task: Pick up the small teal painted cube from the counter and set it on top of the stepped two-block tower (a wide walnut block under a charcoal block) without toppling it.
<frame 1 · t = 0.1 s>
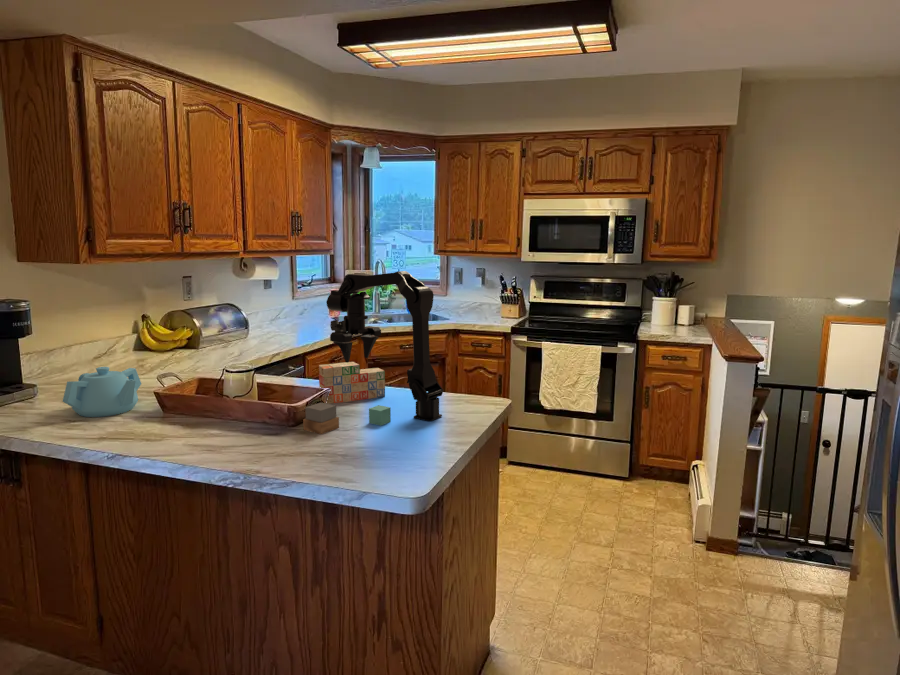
hand: (356, 360, 190), 15 cm above the countertop, tool pointing down, fingers open, 9 cm apart
teal block: (379, 422, 173), on the countertop
walnut base block: (321, 430, 166), on the countertop
stack of blocks: (352, 399, 199), on the countertop
teapot: (107, 411, 182), on the countertop
charcoal block: (321, 418, 166), point 3 cm above the countertop
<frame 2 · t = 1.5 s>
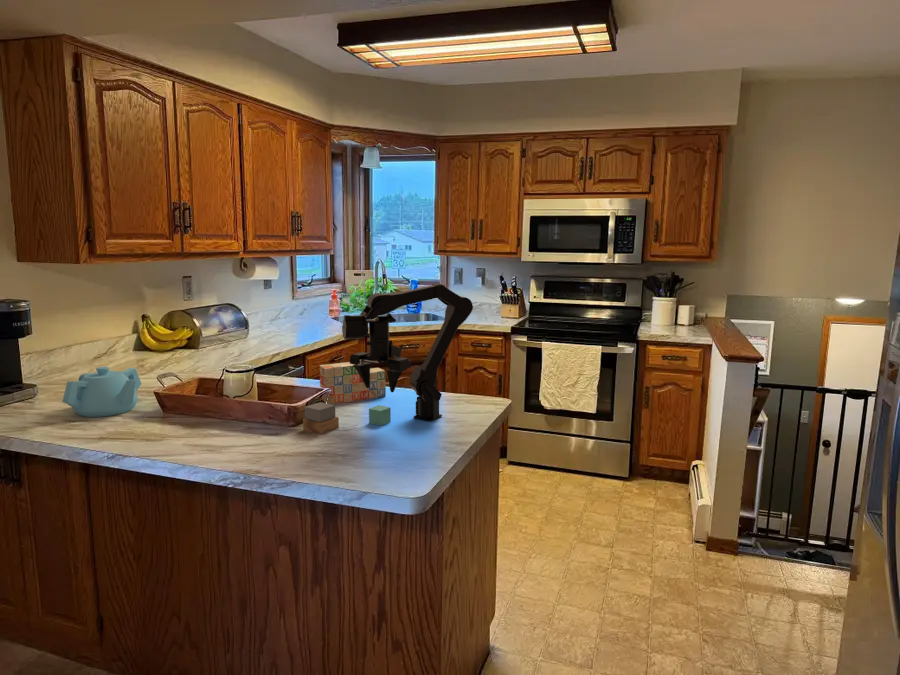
hand: (379, 389, 171), 10 cm above the countertop, tool pointing down, fingers open, 9 cm apart
walnut base block: (321, 430, 166), on the countertop, touching charcoal block
charcoal block: (320, 418, 166), point 3 cm above the countertop, touching walnut base block
everything else where it was.
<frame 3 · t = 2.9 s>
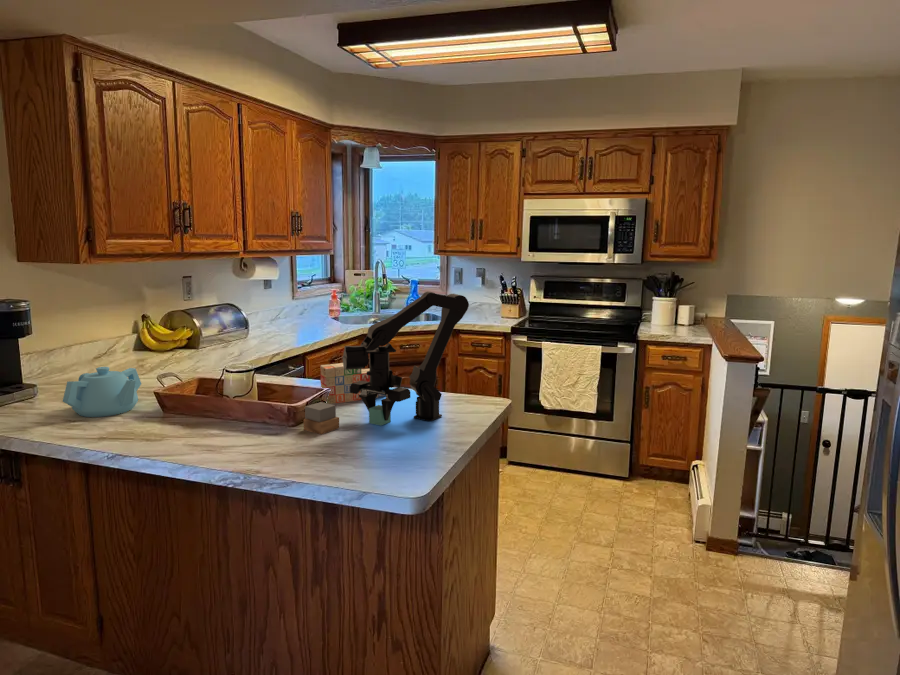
hand: (379, 419, 173), 1 cm above the countertop, tool pointing down, fingers closed on teal block, 4 cm apart
teal block: (379, 422, 173), on the countertop, touching gripper
everything else where it was.
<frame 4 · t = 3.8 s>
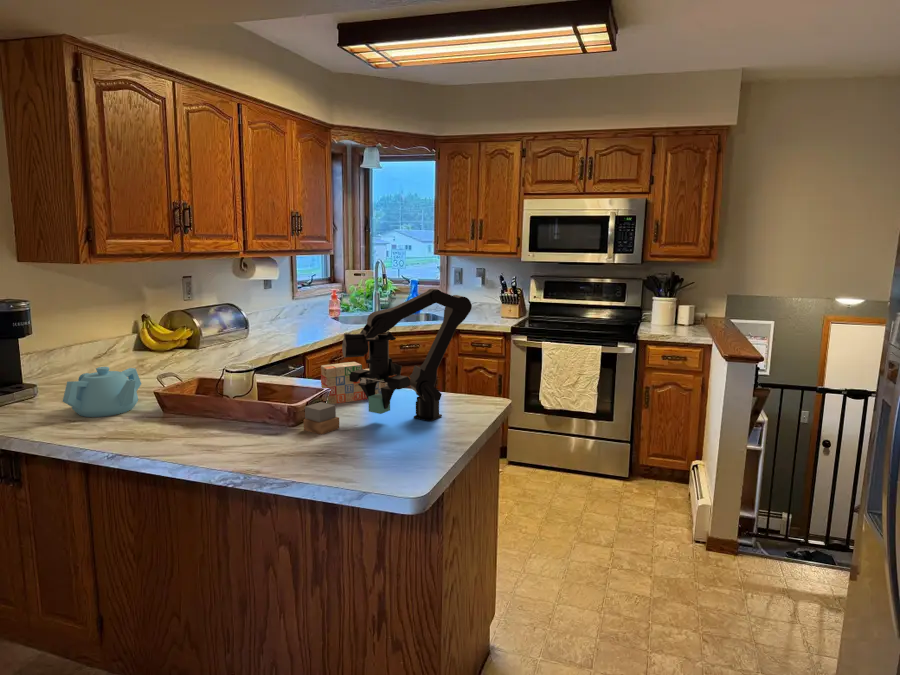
hand: (379, 407, 172), 5 cm above the countertop, tool pointing down, fingers closed on teal block, 4 cm apart
teal block: (379, 410, 172), point 3 cm above the countertop, touching gripper
everything else where it was.
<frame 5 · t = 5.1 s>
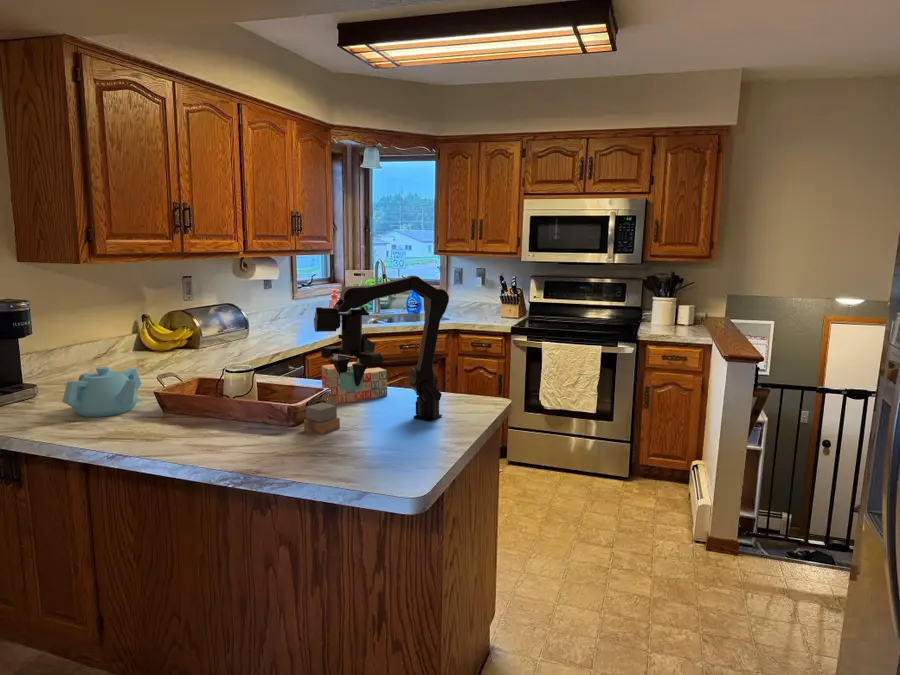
hand: (351, 384, 168), 12 cm above the countertop, tool pointing down, fingers closed on teal block, 4 cm apart
teal block: (351, 388, 168), point 11 cm above the countertop, touching gripper
everything else where it was.
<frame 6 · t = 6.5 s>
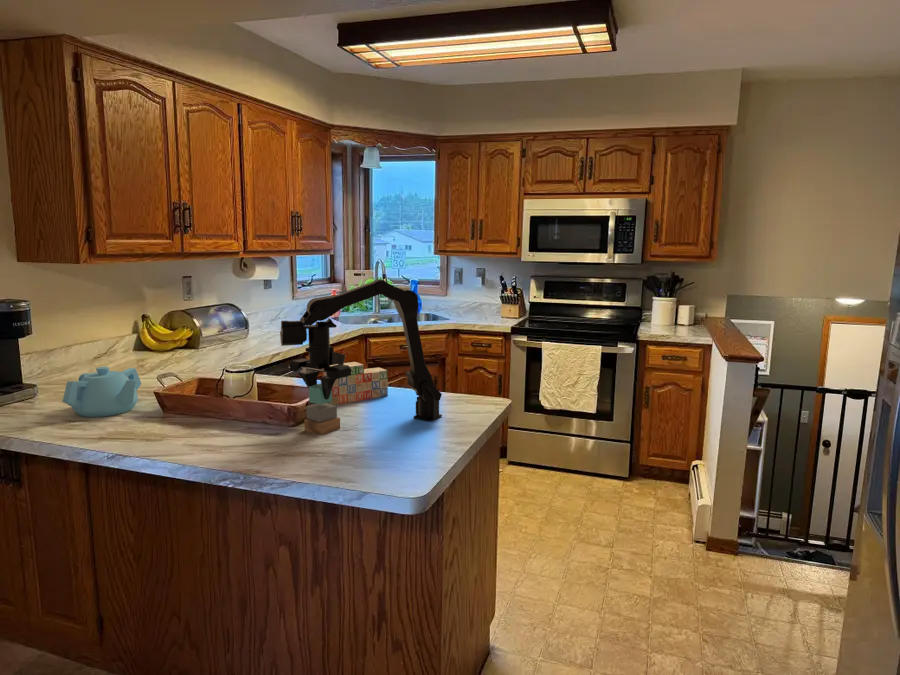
hand: (320, 398, 165), 9 cm above the countertop, tool pointing down, fingers closed on teal block, 4 cm apart
teal block: (320, 401, 165), point 8 cm above the countertop, touching gripper
walnut base block: (322, 430, 166), on the countertop
charcoal block: (321, 418, 166), point 3 cm above the countertop
when the fingers open (9 cm above the countertop, at t = 6.7 s): teal block drops 1 cm, point 7 cm above the countertop.
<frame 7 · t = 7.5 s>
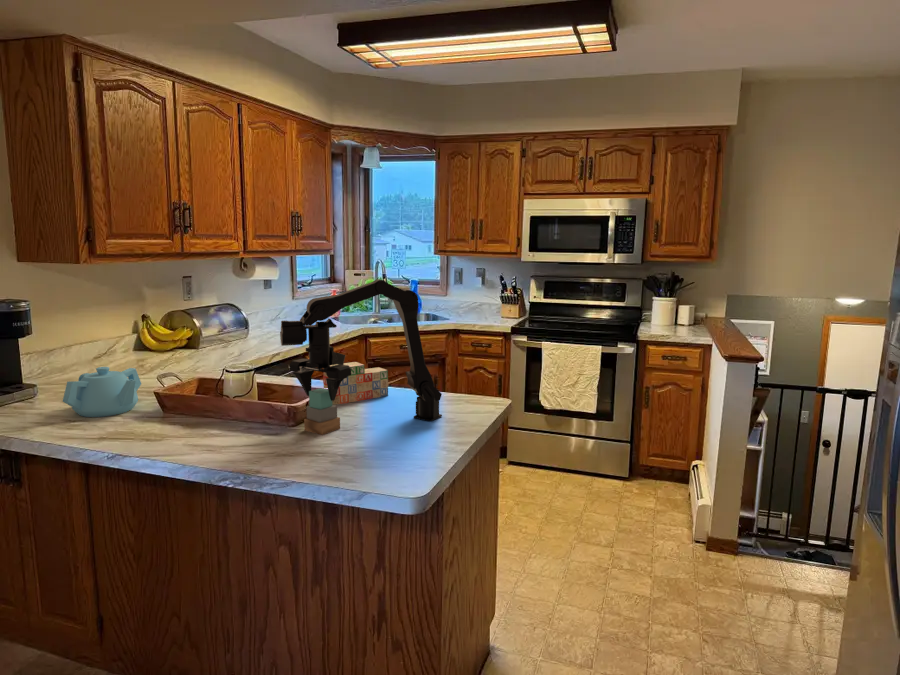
hand: (320, 398, 165), 9 cm above the countertop, tool pointing down, fingers open, 9 cm apart
teal block: (320, 406, 165), point 7 cm above the countertop
walnut base block: (322, 430, 166), on the countertop, touching charcoal block
charcoal block: (322, 418, 165), point 3 cm above the countertop, touching walnut base block
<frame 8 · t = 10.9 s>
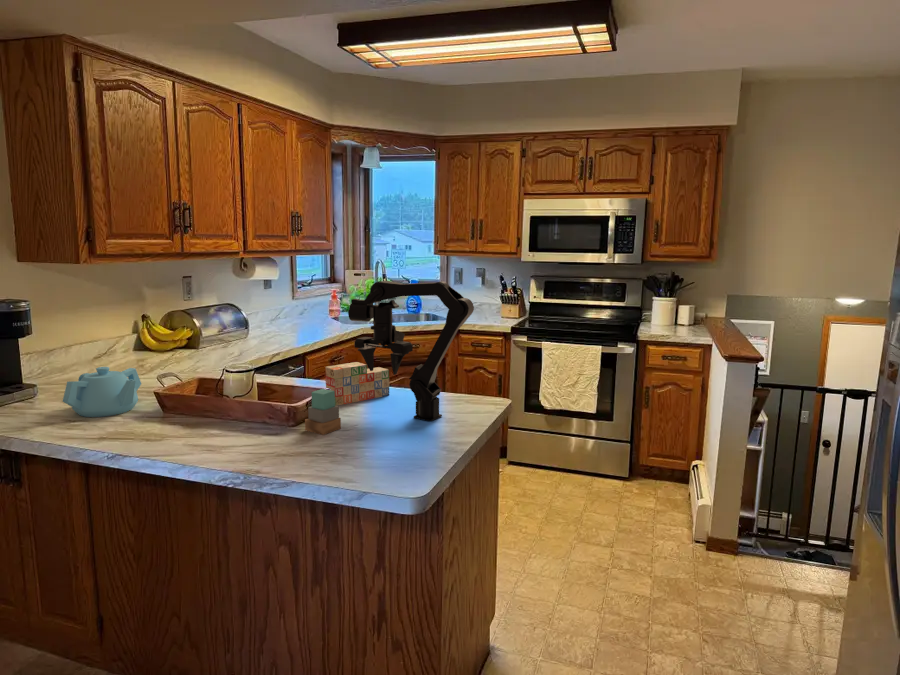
hand: (383, 372, 180), 13 cm above the countertop, tool pointing down, fingers open, 9 cm apart
teal block: (323, 407, 164), point 7 cm above the countertop, touching charcoal block
charcoal block: (323, 418, 165), point 3 cm above the countertop, touching teal block, walnut base block
at the end: teal block 0.3 cm off-centre on the charcoal block, point 3.5 cm above the charcoal block's base; charcoal block 0.2 cm off-centre on the walnut base block, point 3.5 cm above the walnut base block's base; the gripper is holding nothing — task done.
